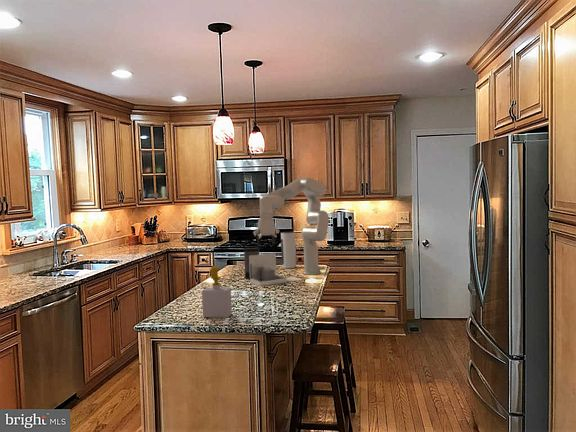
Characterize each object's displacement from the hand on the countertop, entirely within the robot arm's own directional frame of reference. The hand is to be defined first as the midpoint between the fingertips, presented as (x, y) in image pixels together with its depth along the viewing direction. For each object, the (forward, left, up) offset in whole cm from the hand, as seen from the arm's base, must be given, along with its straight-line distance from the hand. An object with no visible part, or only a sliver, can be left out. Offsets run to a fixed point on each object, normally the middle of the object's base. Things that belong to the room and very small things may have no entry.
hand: (266, 244), depth 299 cm
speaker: (-38, -43, -24) cm, 62 cm away
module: (0, 0, -23) cm, 23 cm away
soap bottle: (+53, +55, -24) cm, 80 cm away
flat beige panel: (-16, 0, -24) cm, 29 cm away
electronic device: (+2, -19, -24) cm, 31 cm away
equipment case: (0, 0, -24) cm, 24 cm away
